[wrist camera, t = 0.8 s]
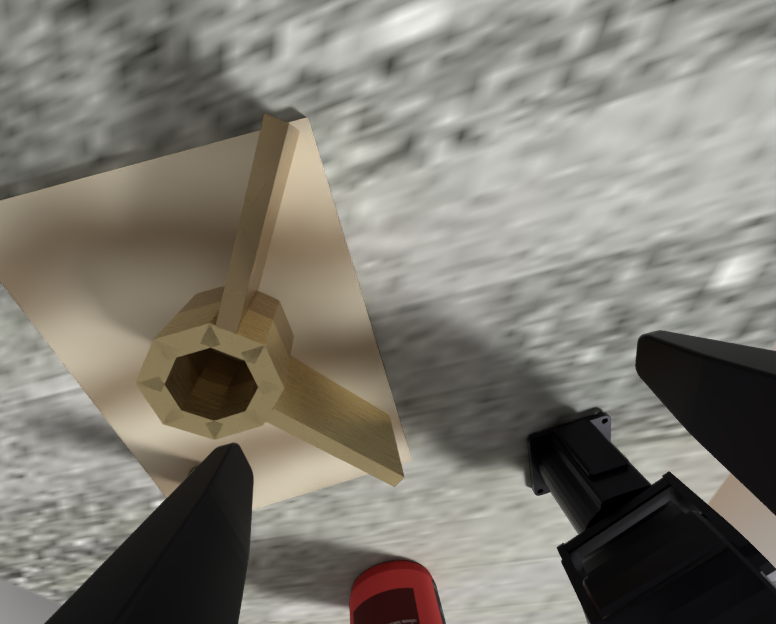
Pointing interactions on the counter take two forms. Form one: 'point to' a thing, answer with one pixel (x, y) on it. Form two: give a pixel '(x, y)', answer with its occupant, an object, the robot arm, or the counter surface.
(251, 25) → the counter surface
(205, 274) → the mounting board
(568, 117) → the counter surface
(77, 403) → the counter surface
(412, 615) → the canned food
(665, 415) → the counter surface
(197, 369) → the spoked octagonal hub
